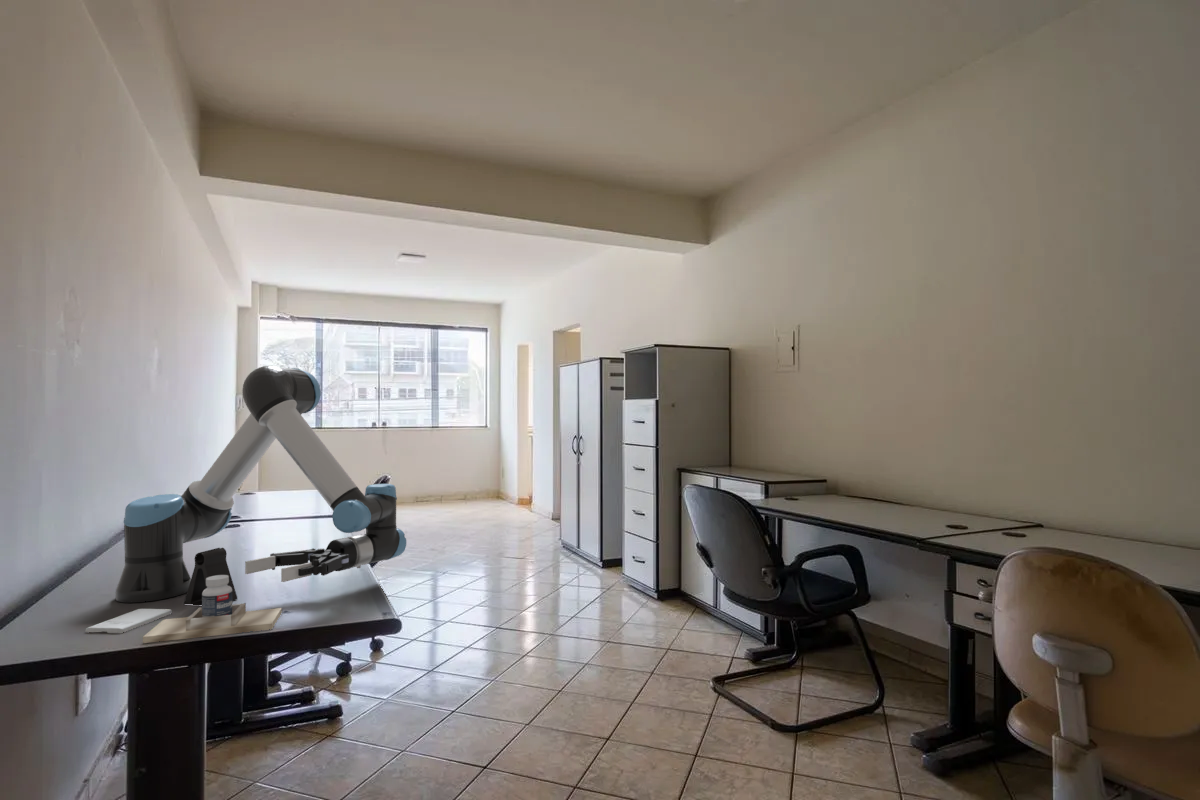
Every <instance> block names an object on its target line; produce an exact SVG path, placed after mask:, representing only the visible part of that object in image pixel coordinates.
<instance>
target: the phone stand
mask: <svg viewBox="0 0 1200 800" xmlns="http://www.w3.org/2000/svg"><path fill="white" fill-rule="evenodd" d="M229 568H230V567H229V565H228V562H227V550H226V549H225V548H224V547H216V548H212V549H209V550H204V551H200V552H198V553H196V554H195V556H194V568H193V571H192V575H191V577H190V578H191V581H190V584H189V588H188V591H187V592H186V595H185V597H184V598H185V599H184V602H183V605H184V604H193V605H202V592H203V591H204V590H205V589H206V588H207V586H206V578H208V577H211V576H216V575H228V576H229V583H228V584H227V586H230V587H231V588H232V600H234V601H236V600H235V599H237V600H238V595H237V592H236V588H235V585H234V582H233V580H232V579H233V578H232V575H231V572H230V569H229Z"/></svg>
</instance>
